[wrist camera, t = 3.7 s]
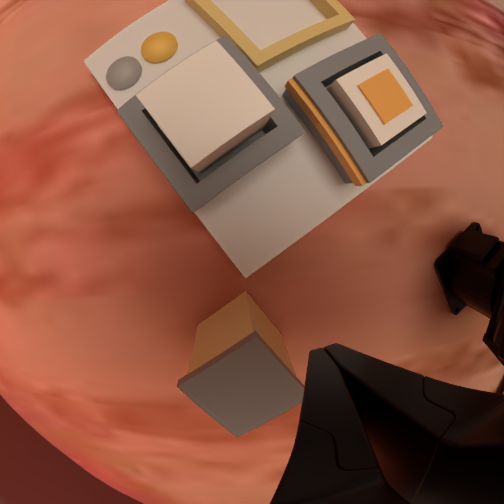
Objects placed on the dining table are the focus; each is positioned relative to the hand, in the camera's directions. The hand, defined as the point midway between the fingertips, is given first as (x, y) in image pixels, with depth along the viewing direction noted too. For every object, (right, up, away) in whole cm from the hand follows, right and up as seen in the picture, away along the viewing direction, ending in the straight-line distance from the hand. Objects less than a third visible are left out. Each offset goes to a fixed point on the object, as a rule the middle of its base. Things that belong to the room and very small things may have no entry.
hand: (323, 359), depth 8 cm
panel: (-1, +14, +10) cm, 17 cm away
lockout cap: (-3, -3, +13) cm, 14 cm away
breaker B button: (-4, +10, +6) cm, 12 cm away
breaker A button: (+5, +12, +8) cm, 15 cm away
